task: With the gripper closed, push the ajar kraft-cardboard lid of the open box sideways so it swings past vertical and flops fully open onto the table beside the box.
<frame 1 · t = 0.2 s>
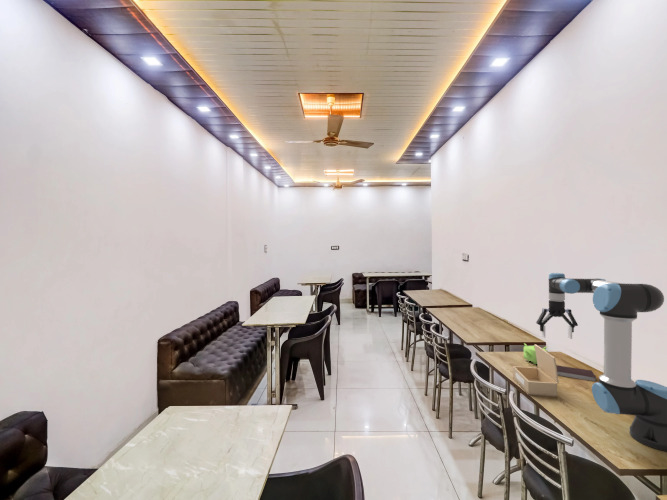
hand: (556, 337, 181), 28 cm above the table, fingers open, 13 cm apart
open box: (533, 386, 181), on the table
lid: (545, 362, 180), point 14 cm above the table, hinge at 82.0°
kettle: (535, 362, 218), on the table
book: (574, 375, 197), on the table
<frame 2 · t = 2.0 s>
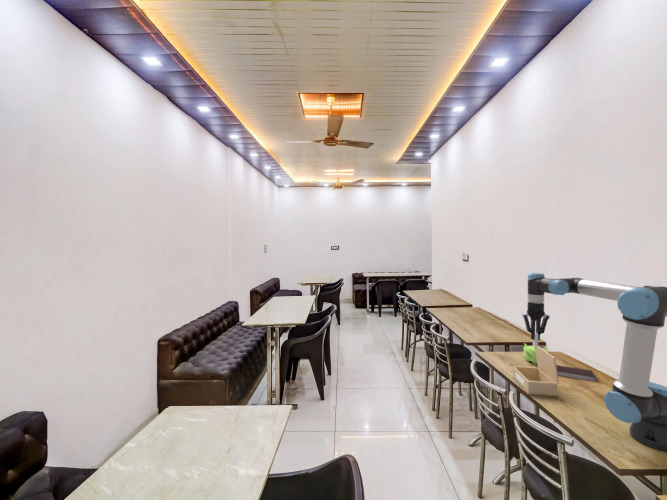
hand: (535, 345, 171), 27 cm above the table, fingers closed
nothing on the table moved.
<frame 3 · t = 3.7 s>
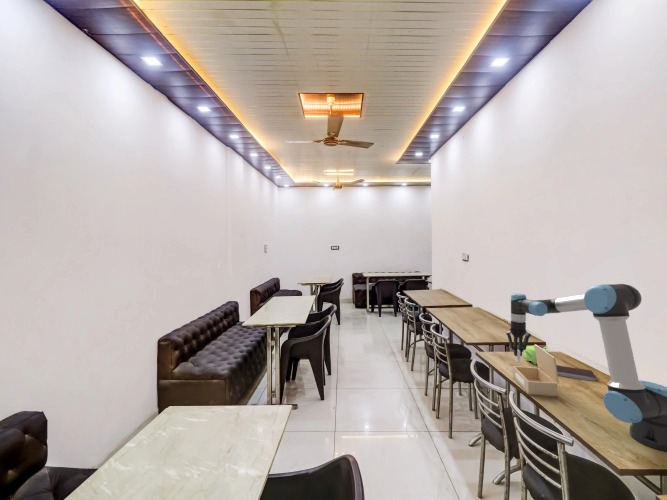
hand: (517, 361, 183), 14 cm above the table, fingers closed
nothing on the table moved.
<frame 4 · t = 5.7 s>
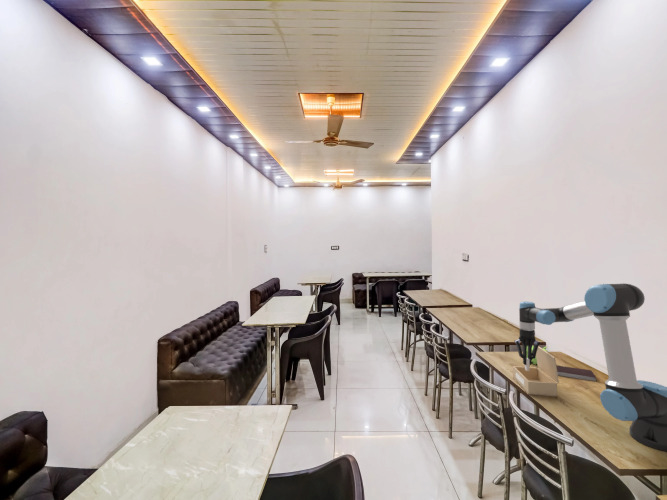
hand: (527, 370, 181), 9 cm above the table, fingers closed
nothing on the table moved.
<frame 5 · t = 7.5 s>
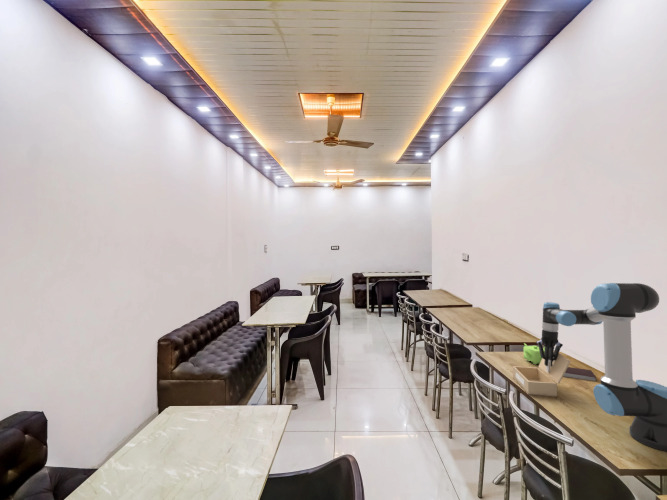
hand: (547, 371, 179), 9 cm above the table, fingers closed
lid: (553, 364, 179), point 14 cm above the table, hinge at 113.6°, touching gripper
everything else where it was.
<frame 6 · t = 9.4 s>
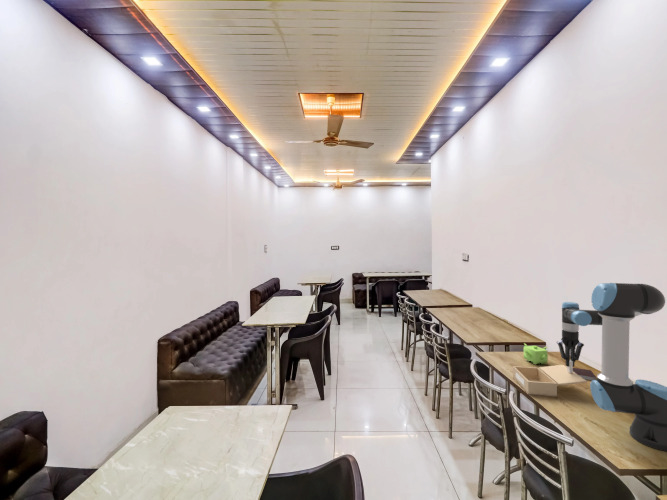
hand: (569, 372, 178), 9 cm above the table, fingers closed
lid: (561, 374, 179), point 8 cm above the table, hinge at 169.8°, touching gripper
everything else where it was.
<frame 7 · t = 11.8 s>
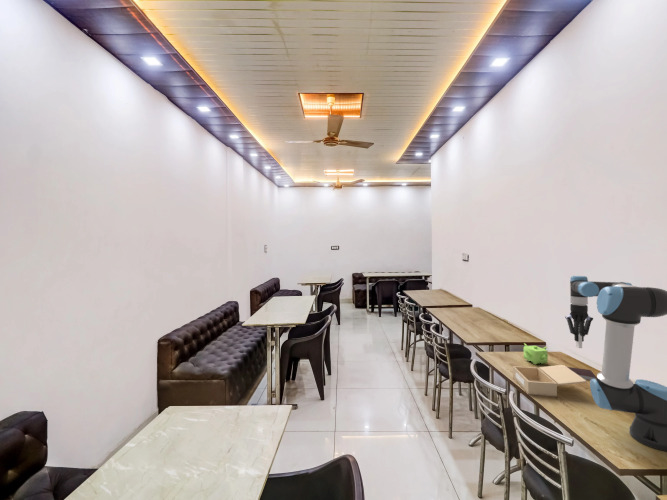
hand: (579, 347, 174), 25 cm above the table, fingers closed
lid: (561, 374, 179), point 8 cm above the table, hinge at 169.9°
everything else where it was.
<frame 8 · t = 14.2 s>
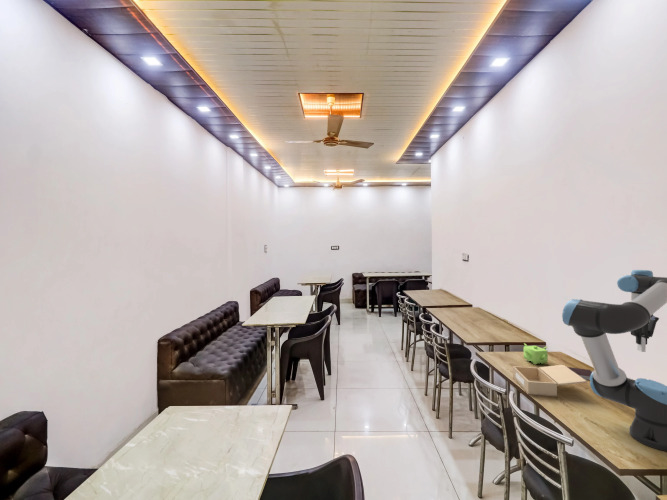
hand: (641, 350, 153), 29 cm above the table, fingers closed
nothing on the table moved.
at the end: lid at +170° (first picture: +82°) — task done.
